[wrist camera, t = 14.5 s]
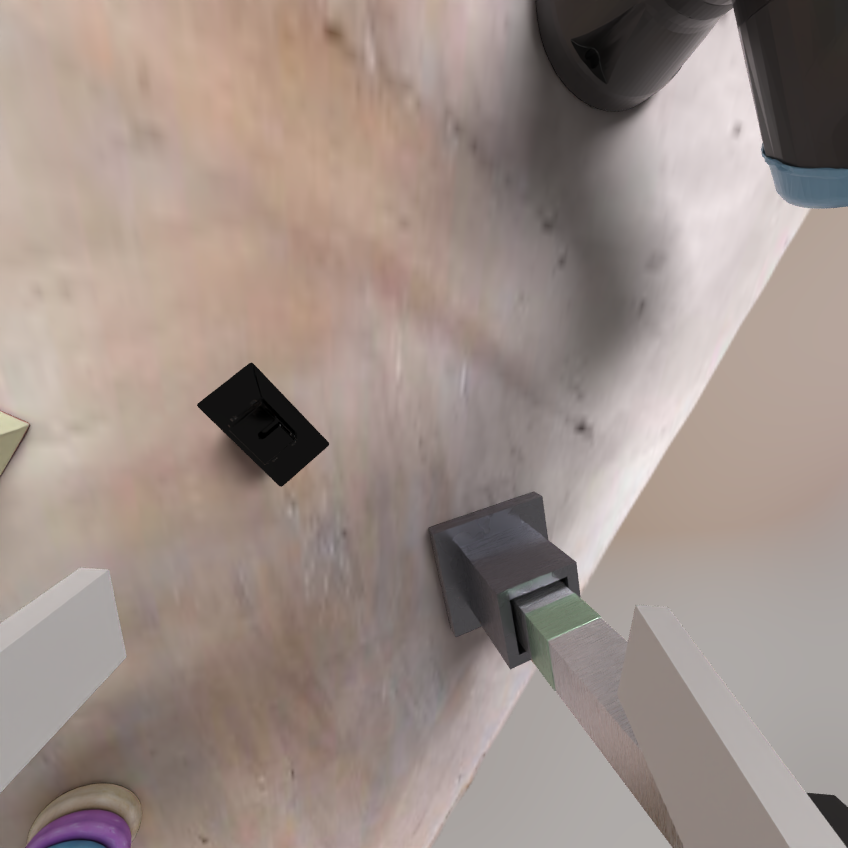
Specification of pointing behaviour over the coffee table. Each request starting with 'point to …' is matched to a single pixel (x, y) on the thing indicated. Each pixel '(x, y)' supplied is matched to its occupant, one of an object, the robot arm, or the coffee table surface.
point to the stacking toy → (88, 819)
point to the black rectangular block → (264, 424)
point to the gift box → (10, 436)
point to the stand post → (588, 683)
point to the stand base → (497, 568)
